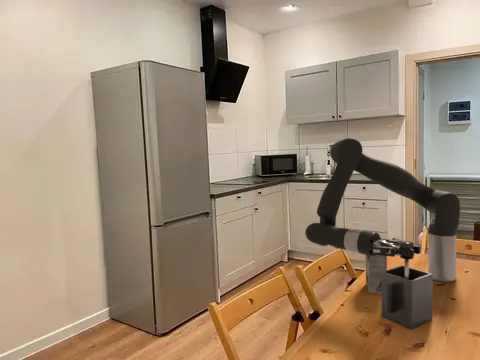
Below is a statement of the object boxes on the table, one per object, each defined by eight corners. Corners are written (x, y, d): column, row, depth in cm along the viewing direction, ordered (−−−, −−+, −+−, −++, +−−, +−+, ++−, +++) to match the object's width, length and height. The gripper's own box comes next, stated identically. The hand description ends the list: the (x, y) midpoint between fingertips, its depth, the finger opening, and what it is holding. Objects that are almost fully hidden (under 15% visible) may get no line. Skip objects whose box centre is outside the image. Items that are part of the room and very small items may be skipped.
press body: (401, 308, 119) (401, 265, 117) (432, 320, 110) (432, 273, 109) (374, 319, 112) (374, 274, 110) (405, 333, 103) (405, 284, 102)
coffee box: (365, 283, 140) (364, 241, 139) (383, 284, 139) (383, 241, 137) (368, 293, 131) (368, 248, 130) (387, 294, 130) (387, 248, 128)
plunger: (402, 304, 117) (402, 237, 115) (427, 313, 110) (428, 243, 108) (385, 311, 113) (385, 242, 111) (410, 321, 106) (411, 248, 104)
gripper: (350, 234, 115) (406, 244, 103) (373, 226, 125) (426, 234, 112) (350, 258, 116) (406, 270, 103) (373, 248, 125) (426, 258, 113)
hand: (416, 251), depth 108 cm, fingers closed on plunger, 3 cm apart
